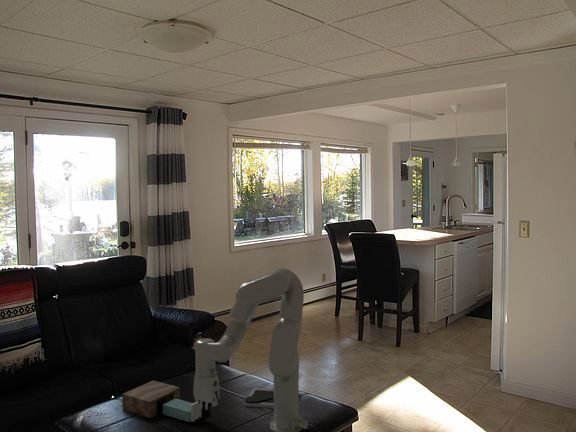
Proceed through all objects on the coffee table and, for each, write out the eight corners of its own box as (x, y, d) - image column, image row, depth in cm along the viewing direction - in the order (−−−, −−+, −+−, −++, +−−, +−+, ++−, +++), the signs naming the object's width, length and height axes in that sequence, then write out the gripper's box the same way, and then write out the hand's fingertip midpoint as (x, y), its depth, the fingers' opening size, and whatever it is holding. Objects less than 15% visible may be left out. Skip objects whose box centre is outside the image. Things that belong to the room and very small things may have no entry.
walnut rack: (180, 402, 209) (179, 387, 208) (150, 418, 194) (149, 401, 194) (153, 394, 217) (153, 380, 217) (122, 409, 202) (122, 393, 202)
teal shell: (202, 415, 196) (202, 399, 195) (190, 422, 190) (190, 406, 189) (175, 407, 203) (175, 392, 203) (162, 414, 197) (162, 398, 197)
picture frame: (244, 407, 204) (293, 411, 200) (244, 401, 204) (293, 404, 200) (253, 392, 220) (299, 395, 216) (253, 386, 219) (298, 389, 216)
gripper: (226, 371, 189) (227, 418, 189) (197, 365, 196) (198, 410, 197) (214, 378, 182) (215, 426, 183) (184, 371, 190) (185, 417, 191)
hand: (206, 417), depth 190 cm, fingers closed
